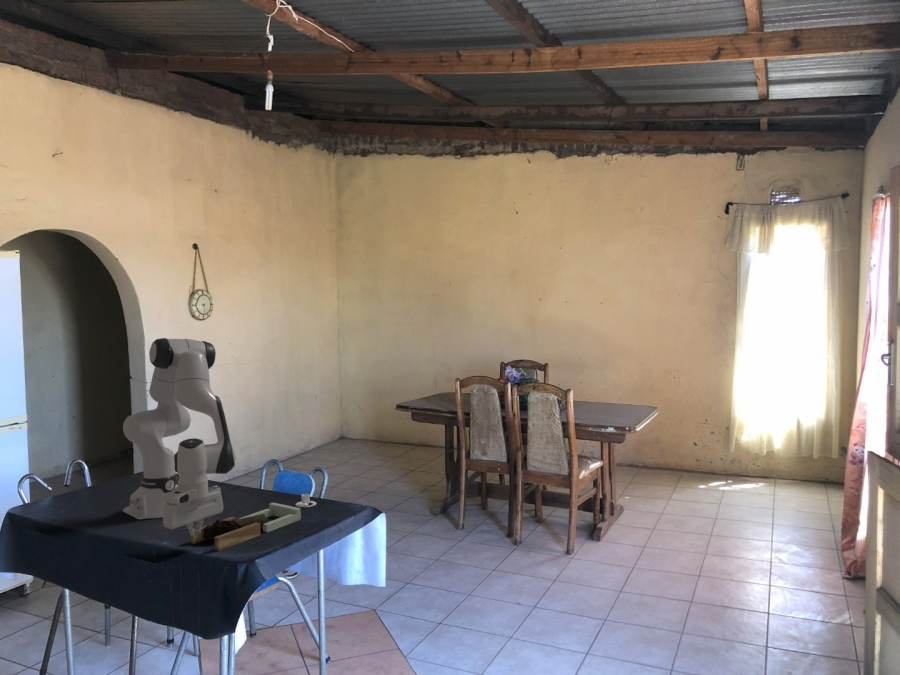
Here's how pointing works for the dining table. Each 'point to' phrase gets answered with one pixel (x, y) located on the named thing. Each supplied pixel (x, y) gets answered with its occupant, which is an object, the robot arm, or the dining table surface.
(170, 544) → the dining table surface
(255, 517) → the dark piece
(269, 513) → the frame
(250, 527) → the oak channel
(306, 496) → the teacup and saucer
